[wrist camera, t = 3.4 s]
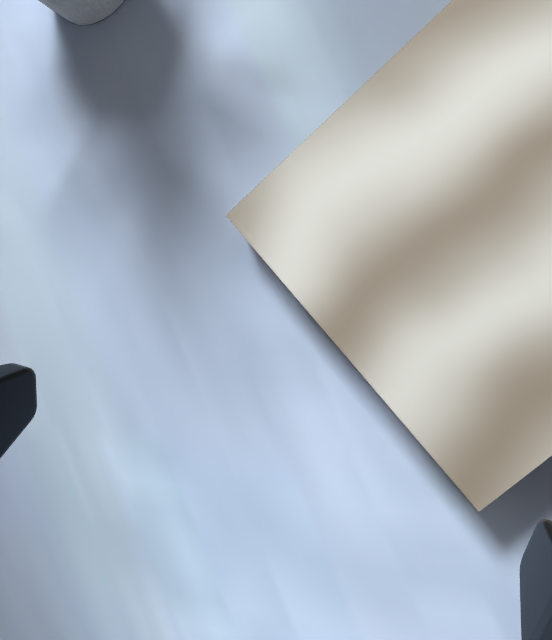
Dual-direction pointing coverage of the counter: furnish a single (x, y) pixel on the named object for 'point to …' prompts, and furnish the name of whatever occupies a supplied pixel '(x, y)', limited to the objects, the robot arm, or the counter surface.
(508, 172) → the shelf board
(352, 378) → the counter surface
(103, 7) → the house plant
